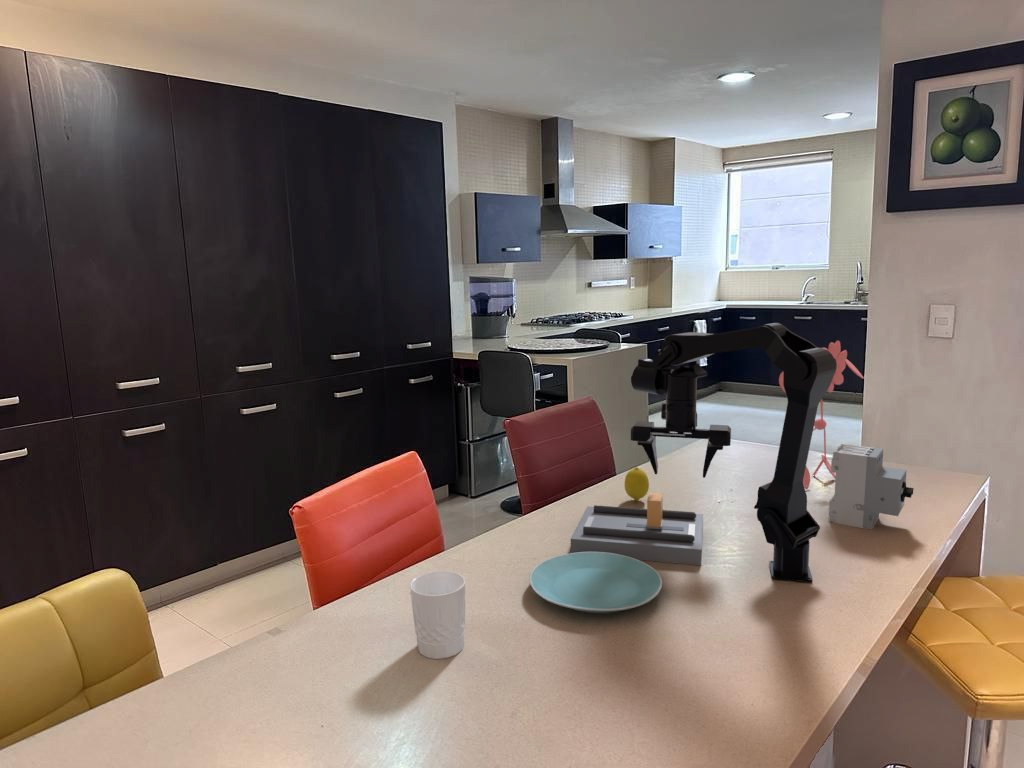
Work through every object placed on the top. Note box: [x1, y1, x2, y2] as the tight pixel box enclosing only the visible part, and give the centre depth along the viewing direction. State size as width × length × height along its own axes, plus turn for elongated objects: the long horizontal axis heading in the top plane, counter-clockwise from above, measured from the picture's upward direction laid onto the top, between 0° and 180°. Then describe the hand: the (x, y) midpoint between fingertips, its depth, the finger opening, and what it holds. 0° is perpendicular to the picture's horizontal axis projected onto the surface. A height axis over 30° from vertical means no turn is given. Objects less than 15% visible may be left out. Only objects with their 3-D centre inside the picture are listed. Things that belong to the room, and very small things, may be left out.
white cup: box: [409, 570, 466, 660], centre depth 99 cm, size 8×8×10 cm
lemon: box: [624, 467, 650, 502], centre depth 158 cm, size 6×6×8 cm
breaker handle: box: [646, 492, 664, 529], centre depth 134 cm, size 4×3×6 cm
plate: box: [529, 552, 663, 614], centre depth 115 cm, size 22×22×3 cm
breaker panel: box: [570, 506, 704, 566], centre depth 136 cm, size 18×24×3 cm
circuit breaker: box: [827, 443, 914, 531], centre depth 140 cm, size 8×14×15 cm, turn 53°
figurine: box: [778, 340, 865, 490], centre depth 161 cm, size 15×26×35 cm, turn 121°
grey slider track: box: [583, 504, 697, 542], centre depth 135 cm, size 13×21×1 cm, turn 74°
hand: (679, 475), depth 135 cm, fingers open, 9 cm apart
